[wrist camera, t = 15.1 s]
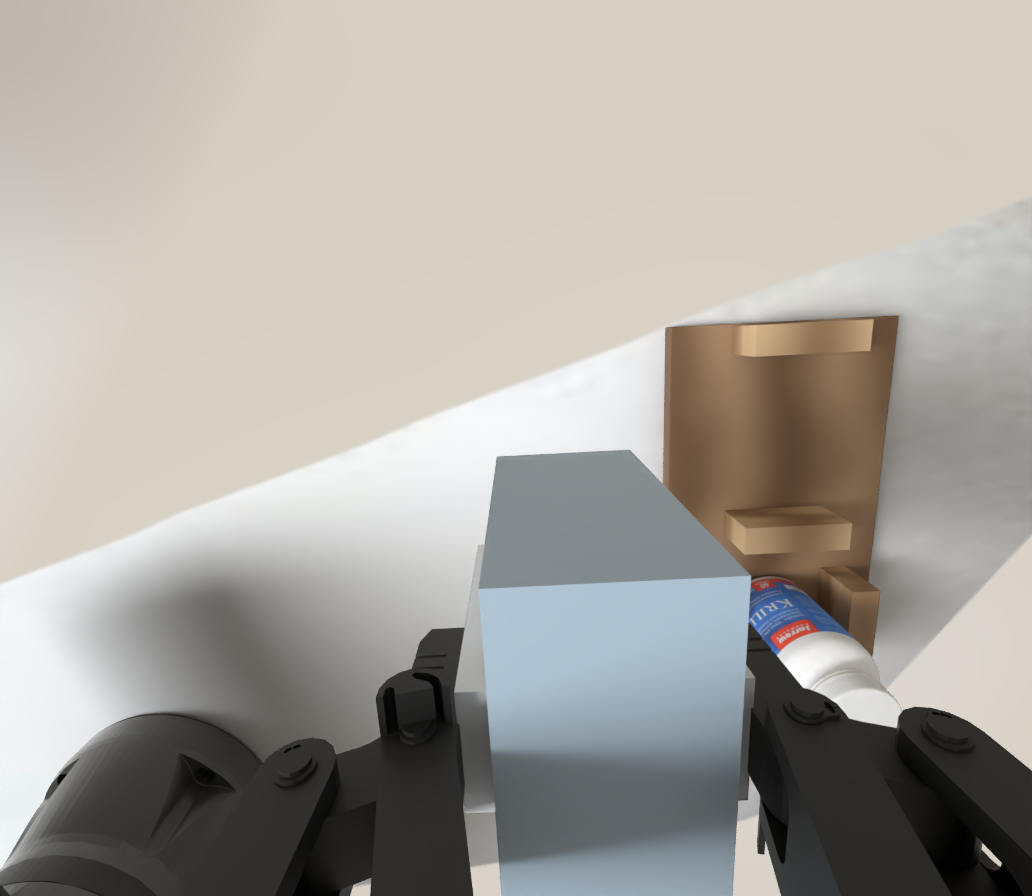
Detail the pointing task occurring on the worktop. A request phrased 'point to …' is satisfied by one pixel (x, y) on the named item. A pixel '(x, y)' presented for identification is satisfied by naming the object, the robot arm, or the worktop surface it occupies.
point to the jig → (785, 449)
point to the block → (610, 681)
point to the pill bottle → (820, 651)
